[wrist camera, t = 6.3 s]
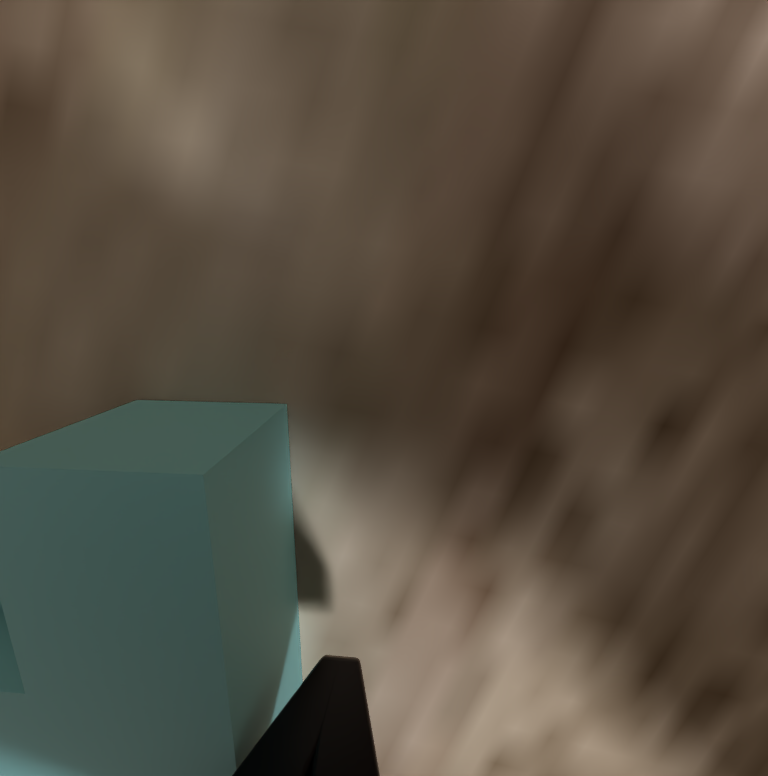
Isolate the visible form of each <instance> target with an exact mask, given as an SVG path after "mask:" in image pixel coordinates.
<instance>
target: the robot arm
mask: <svg viewBox="0 0 768 776" xmlns="http://www.w3.org/2000/svg"><path fill="white" fill-rule="evenodd" d="M232 776H380V775H379V769H378V763H377V757H376V751H375V745H374V740H373V734H372V728H371V722H370V716H369V710H368V704H367V699H366V693H365V687H364V681H363V675H362V669H361V664H360V660H359V659H358V658H354V657H343V656H332V655H325V656H323V657H322V658H321V659H320V660H319V662H318V663H317V664H316V666H315V667H314V668H313V670H312V671H311V672H310V674H309V675H308V676H307V678H306V679H305V680H304V682H303V683H302V684H301V685H300V687H299V688H298V689H297V691H296V692H295V693H294V695H293V696H292V697H291V699H290V700H289V701H288V703H287V704H286V705H285V707H284V708H283V709H282V710H281V712H280V713H279V714H278V716H277V717H276V718H275V720H274V721H273V722H272V724H271V725H270V726H269V728H268V729H267V730H266V732H265V733H264V734H263V735H262V737H261V738H260V739H259V741H258V742H257V743H256V745H255V746H254V747H253V749H252V750H251V751H250V753H249V754H248V755H247V757H246V758H245V759H244V760H243V762H242V763H241V764H240V766H239V767H238V768H237V770H236V771H235V772H234V774H233V775H232Z"/></svg>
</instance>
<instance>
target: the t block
mask: <svg viewBox="0 0 768 776" xmlns="http://www.w3.org/2000/svg"><path fill="white" fill-rule="evenodd" d="M301 684H302V665H301V647H300V629H299V611H298V593H297V576H296V558H295V540H294V522H293V504H292V486H291V468H290V450H289V432H288V414H287V404H274V403H235V402H197V401H159V400H135V401H132V402H130V403H127V404H125V405H122V406H119V407H117V408H114V409H111V410H109V411H106V412H103V413H101V414H98V415H95V416H93V417H90V418H87V419H85V420H82V421H79V422H77V423H74V424H72V425H69V426H66V427H64V428H61V429H58V430H56V431H53V432H50V433H48V434H45V435H42V436H40V437H37V438H34V439H32V440H29V441H26V442H24V443H21V444H18V445H16V446H13V447H11V448H8V449H5V450H3V451H0V776H232V775H233V774H234V772H235V771H236V770H237V768H238V767H239V766H240V764H241V763H242V762H243V760H244V759H245V758H246V757H247V755H248V754H249V753H250V751H251V750H252V749H253V747H254V746H255V745H256V743H257V742H258V741H259V739H260V738H261V737H262V735H263V734H264V733H265V732H266V730H267V729H268V728H269V726H270V725H271V724H272V722H273V721H274V720H275V718H276V717H277V716H278V714H279V713H280V712H281V710H282V709H283V708H284V707H285V705H286V704H287V703H288V701H289V700H290V699H291V697H292V696H293V695H294V693H295V692H296V691H297V689H298V688H299V687H300V685H301Z"/></svg>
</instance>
